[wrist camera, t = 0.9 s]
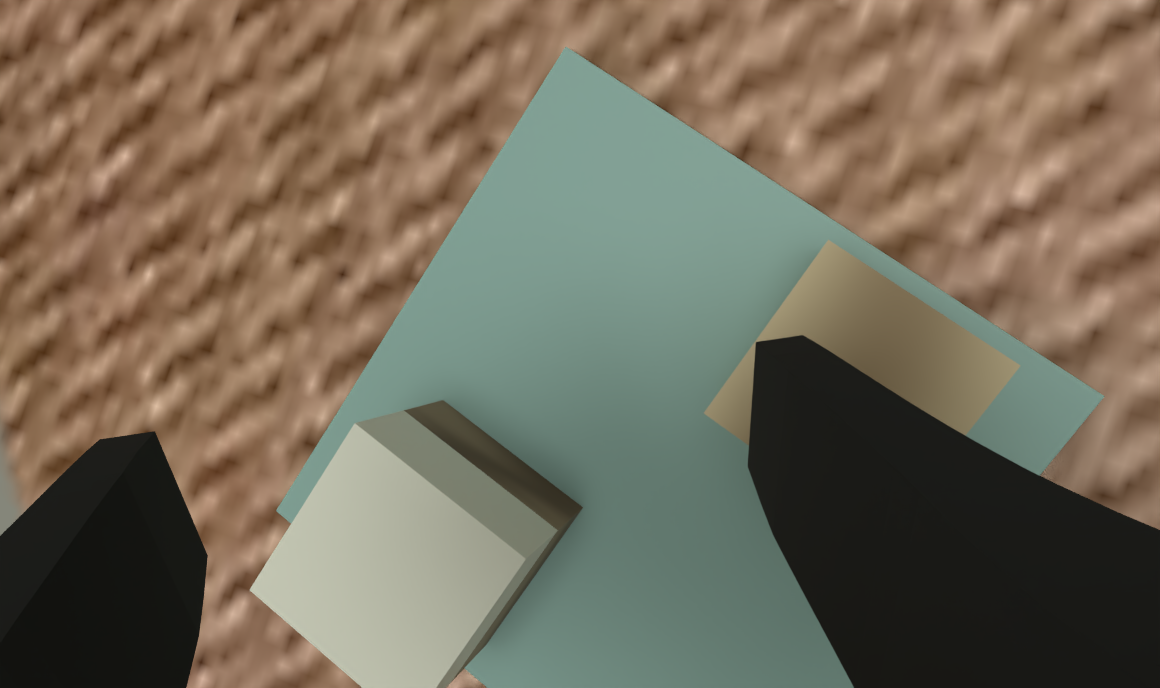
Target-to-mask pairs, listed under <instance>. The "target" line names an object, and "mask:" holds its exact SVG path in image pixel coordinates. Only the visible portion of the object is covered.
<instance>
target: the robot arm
mask: <svg viewBox="0 0 1160 688" xmlns="http://www.w3.org/2000/svg"><path fill="white" fill-rule="evenodd" d="M748 469H749V472H750V475H751V477H752V480H753V483H754V486H755V489H756V491H757V494H758V497H759V500H760V503H761V505H762V508H763V510H764V513H765V516H766V518H767V521H768V523H769V526H770V528H771V531H772V534H773V536H774V538H775V540H776V542H777V544H778V546H779V548H780V550H781V551H782V553H783V555H784V557H785V559H786V561H787V563H788V565H789V567H790V569H791V571H792V572H793V574H794V576H795V578H796V580H797V582H798V584H799V586H800V588H801V590H802V591H803V593H804V595H805V597H806V599H807V601H808V603H809V605H810V606H811V608H812V610H813V612H814V614H815V616H816V618H817V619H818V621H819V623H820V625H821V627H822V629H823V631H824V633H825V634H826V636H827V638H828V640H829V642H830V644H831V646H832V647H833V649H834V651H835V653H836V655H837V657H838V659H839V661H840V662H841V664H842V666H843V668H844V670H845V672H846V674H847V676H848V677H849V679H850V681H851V683H852V685H853V687H854V688H1160V530H1158V529H1156V528H1153V527H1151V526H1149V525H1146V524H1144V523H1141V522H1139V521H1137V520H1134V519H1132V518H1130V517H1127V516H1125V515H1123V514H1120V513H1118V512H1116V511H1114V510H1111V509H1109V508H1107V507H1105V506H1103V505H1101V504H1098V503H1096V502H1094V501H1092V500H1090V499H1088V498H1085V497H1083V496H1081V495H1079V494H1077V493H1075V492H1072V491H1070V490H1068V489H1066V488H1064V487H1062V486H1059V485H1057V484H1055V483H1053V482H1051V481H1049V480H1047V479H1045V478H1043V477H1041V476H1039V475H1037V474H1035V473H1033V472H1031V471H1029V470H1027V469H1025V468H1023V467H1022V466H1020V465H1018V464H1016V463H1014V462H1012V461H1011V460H1009V459H1007V458H1005V457H1003V456H1001V455H1000V454H998V453H996V452H994V451H992V450H990V449H989V448H987V447H985V446H983V445H981V444H979V443H977V442H976V441H974V440H972V439H970V438H969V437H967V436H965V435H963V434H962V433H960V432H958V431H957V430H955V429H953V428H951V427H950V426H948V425H946V424H945V423H943V422H941V421H940V420H938V419H936V418H935V417H933V416H931V415H930V414H928V413H926V412H925V411H923V410H921V409H920V408H918V407H917V406H915V405H913V404H912V403H910V402H909V401H907V400H905V399H904V398H902V397H901V396H899V395H897V394H896V393H894V392H893V391H891V390H889V389H888V388H886V387H885V386H883V385H882V384H880V383H879V382H877V381H875V380H874V379H872V378H871V377H869V376H868V375H866V374H865V373H863V372H861V371H860V370H858V369H857V368H855V367H854V366H852V365H851V364H849V363H847V362H846V361H844V360H843V359H841V358H840V357H838V356H837V355H835V354H833V353H832V352H830V351H829V350H827V349H826V348H824V347H822V346H821V345H819V344H817V343H816V342H814V341H812V340H811V339H809V338H807V337H805V336H804V335H799V336H793V337H786V338H779V339H773V340H766V341H759V342H756V347H755V362H754V377H753V392H752V407H751V422H750V437H749V452H748ZM207 556H208V555H207V553H206V551H205V548H204V546H203V544H202V541H201V539H200V537H199V534H198V532H197V530H196V527H195V525H194V522H193V520H192V518H191V515H190V513H189V511H188V508H187V506H186V504H185V501H184V499H183V497H182V494H181V492H180V490H179V487H178V485H177V482H176V480H175V478H174V475H173V473H172V471H171V468H170V466H169V464H168V461H167V459H166V457H165V454H164V452H163V450H162V447H161V445H160V442H159V440H158V438H157V435H156V433H155V431H154V432H147V433H140V434H134V435H127V436H120V437H114V438H107V439H100V440H99V441H98V442H96V443H95V444H94V445H93V446H92V447H91V448H90V449H89V450H87V451H86V452H85V453H84V454H83V455H82V456H81V457H80V458H79V459H78V460H77V461H76V462H75V463H74V464H73V465H71V466H70V467H69V468H68V469H67V470H66V471H65V472H64V473H63V474H62V475H61V476H60V477H59V478H58V479H57V480H56V481H55V482H54V483H53V484H52V485H51V486H50V487H49V488H48V489H47V490H46V491H45V492H44V493H43V494H42V495H41V496H40V497H39V498H38V499H37V500H36V501H35V502H34V503H33V504H32V505H31V506H30V507H29V508H28V509H27V510H26V511H25V512H24V513H23V514H22V515H21V516H20V517H19V518H18V519H17V520H16V521H15V522H14V523H13V524H12V525H11V526H10V527H9V528H8V529H7V530H6V531H5V532H4V533H3V534H2V535H1V536H0V688H186V687H187V682H188V678H189V674H190V670H191V666H192V662H193V658H194V654H195V650H196V646H197V641H198V637H199V631H200V623H201V615H202V607H203V599H204V588H205V577H206V567H207Z"/></svg>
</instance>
